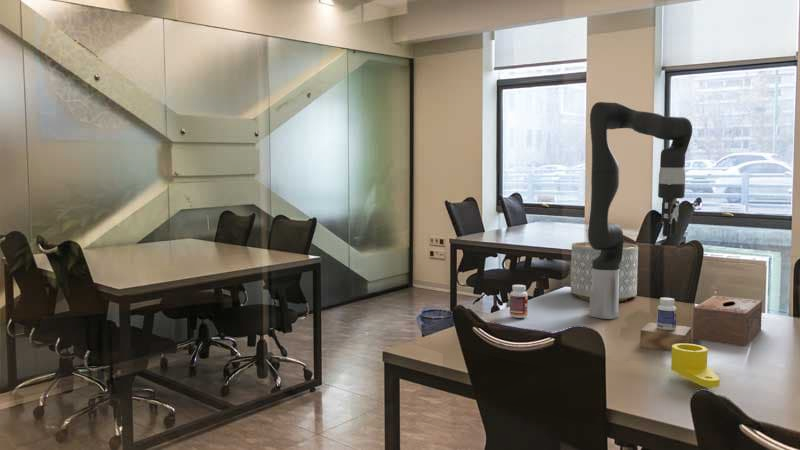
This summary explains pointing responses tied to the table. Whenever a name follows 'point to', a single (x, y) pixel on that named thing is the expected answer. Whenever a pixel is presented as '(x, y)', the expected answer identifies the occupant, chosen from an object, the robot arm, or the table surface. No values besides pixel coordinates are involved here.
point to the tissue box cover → (727, 320)
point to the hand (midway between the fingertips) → (669, 235)
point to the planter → (583, 270)
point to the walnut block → (663, 337)
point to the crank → (693, 364)
